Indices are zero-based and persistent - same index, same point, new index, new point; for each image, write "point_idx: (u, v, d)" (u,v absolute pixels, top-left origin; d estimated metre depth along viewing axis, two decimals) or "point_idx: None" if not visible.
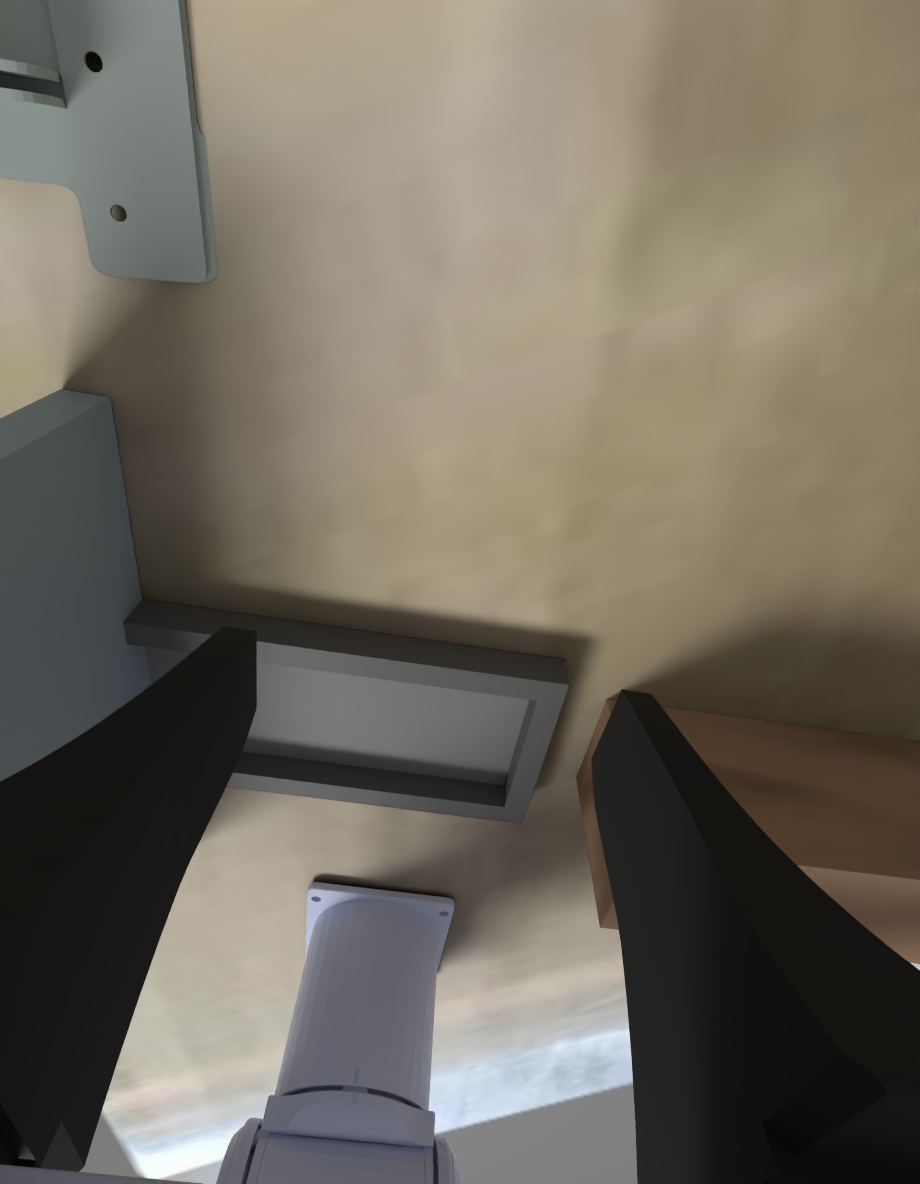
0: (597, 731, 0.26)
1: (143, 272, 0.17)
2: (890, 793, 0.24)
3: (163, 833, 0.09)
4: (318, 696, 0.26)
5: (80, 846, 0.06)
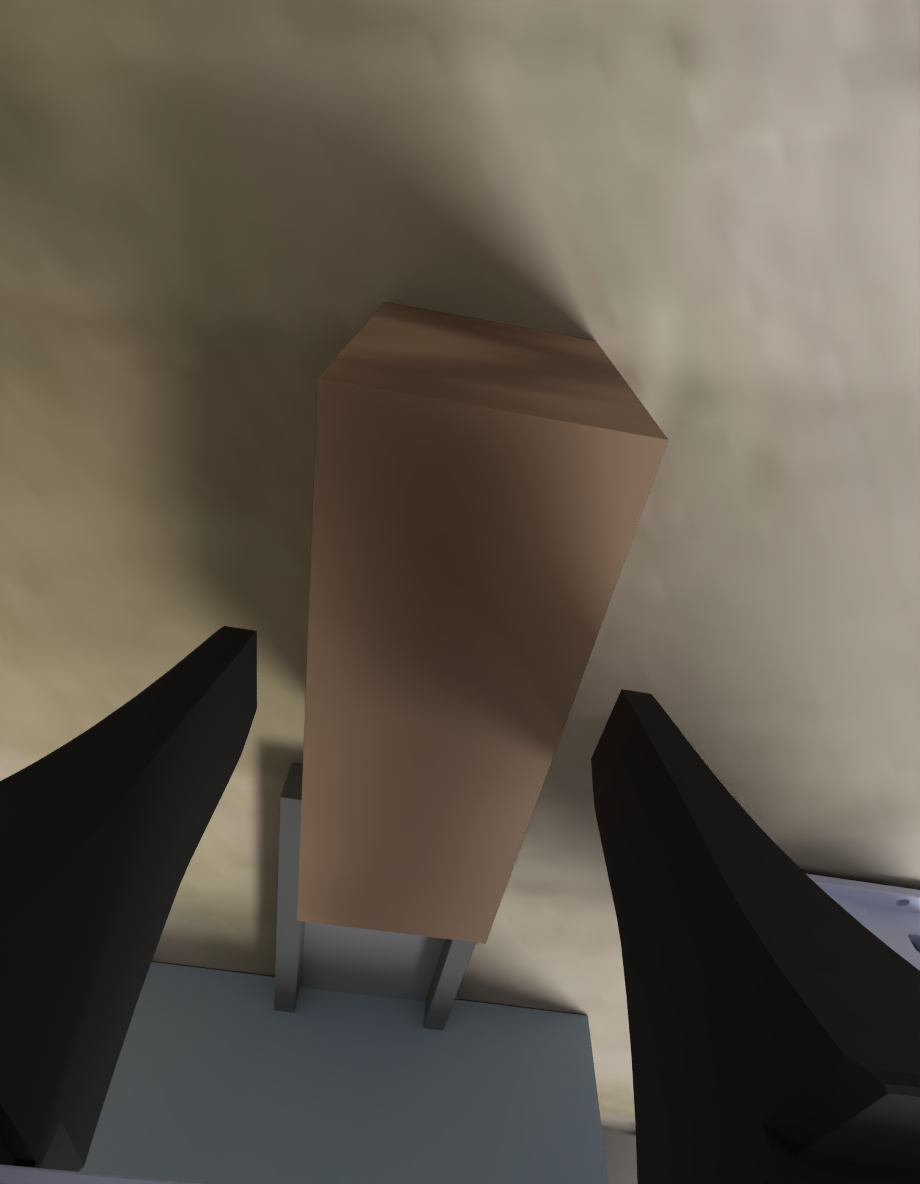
0: None
1: None
2: None
3: (163, 833, 0.09)
4: None
5: (80, 846, 0.06)
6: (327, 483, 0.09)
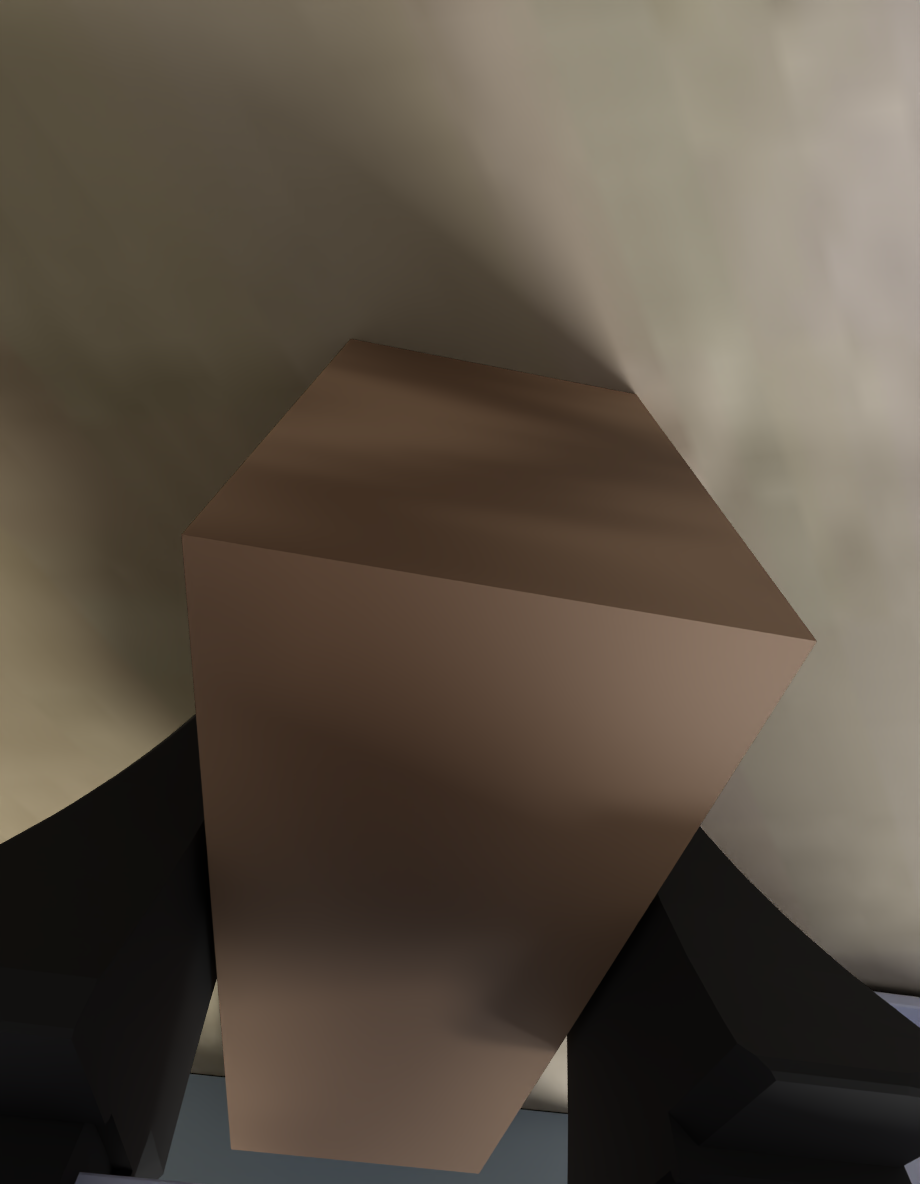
0: None
1: None
2: None
3: None
4: None
5: (177, 859, 0.07)
6: (217, 691, 0.05)
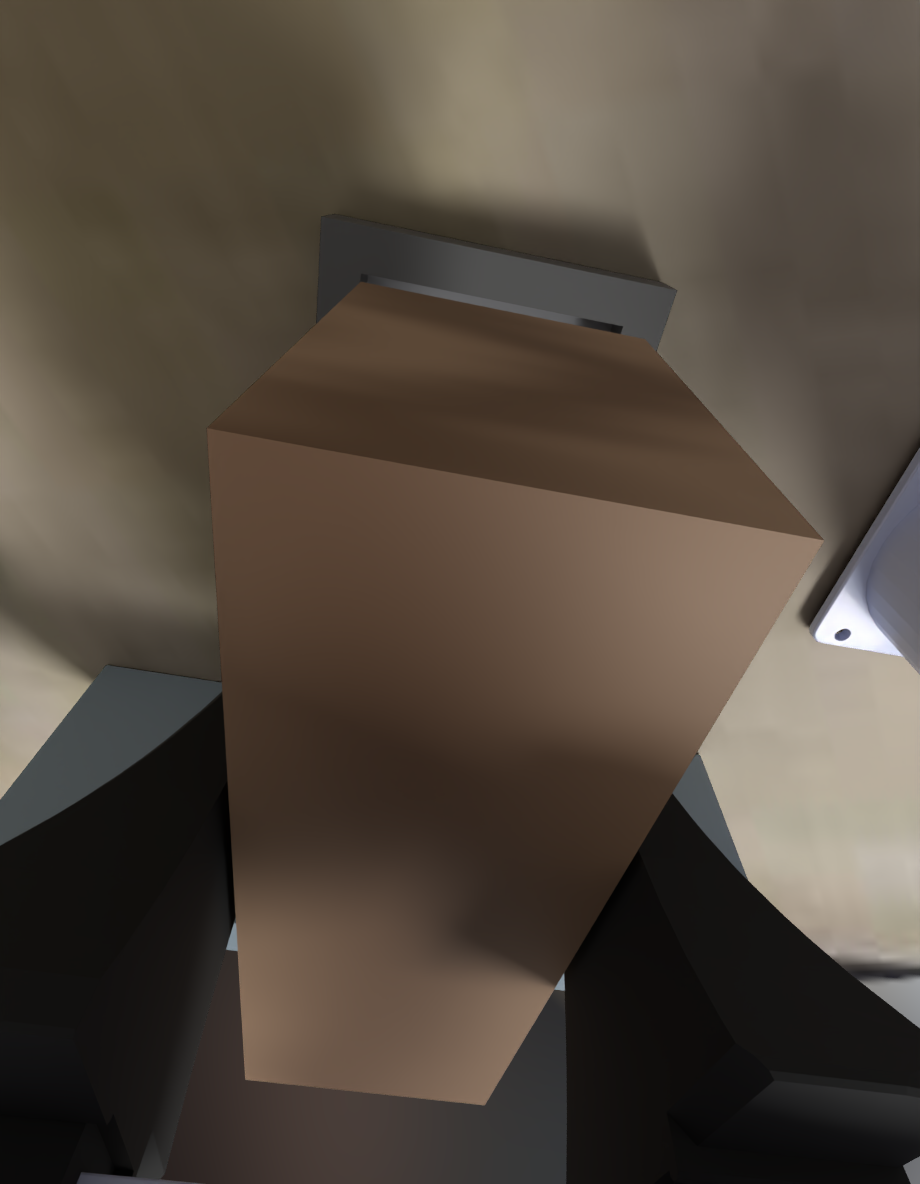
0: None
1: None
2: None
3: None
4: None
5: (179, 859, 0.07)
6: (239, 595, 0.06)
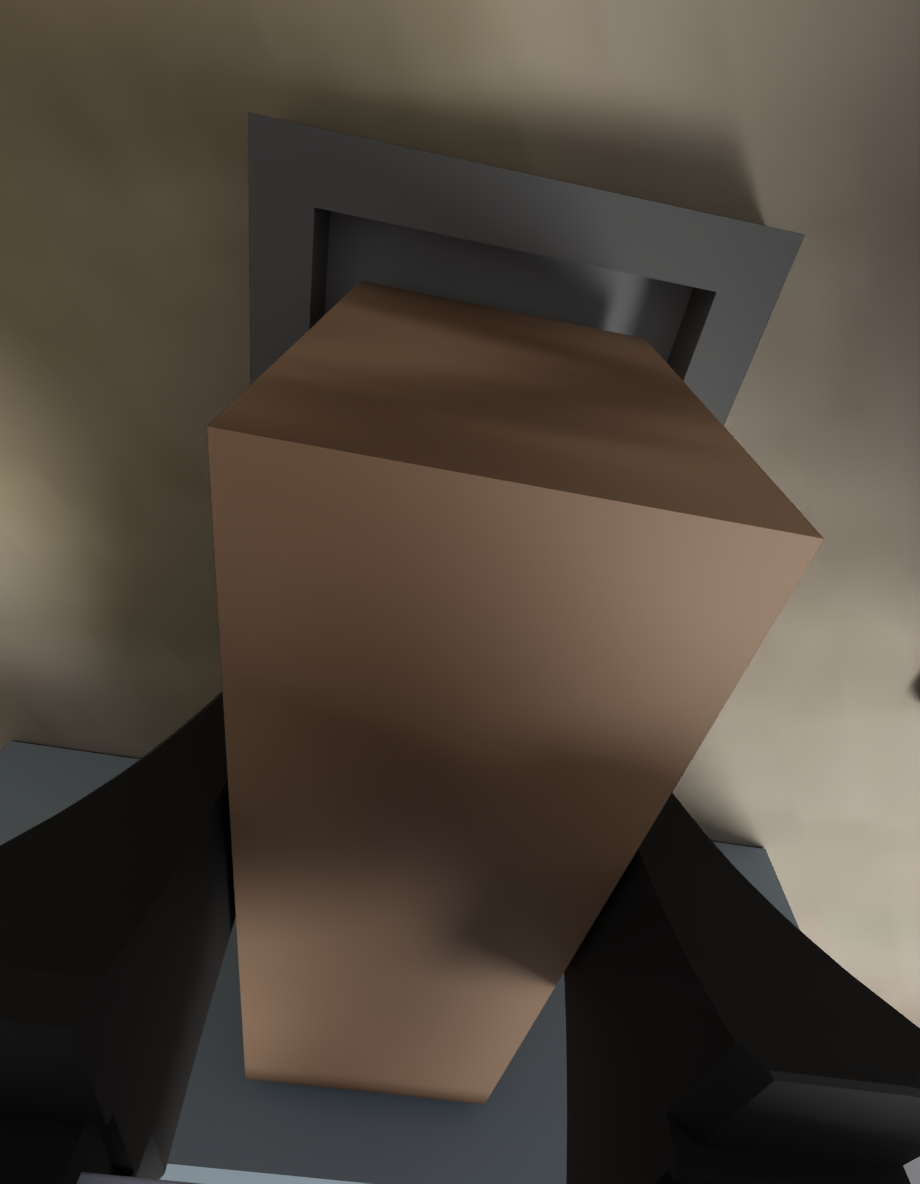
0: None
1: None
2: None
3: None
4: None
5: (179, 859, 0.07)
6: (239, 593, 0.06)
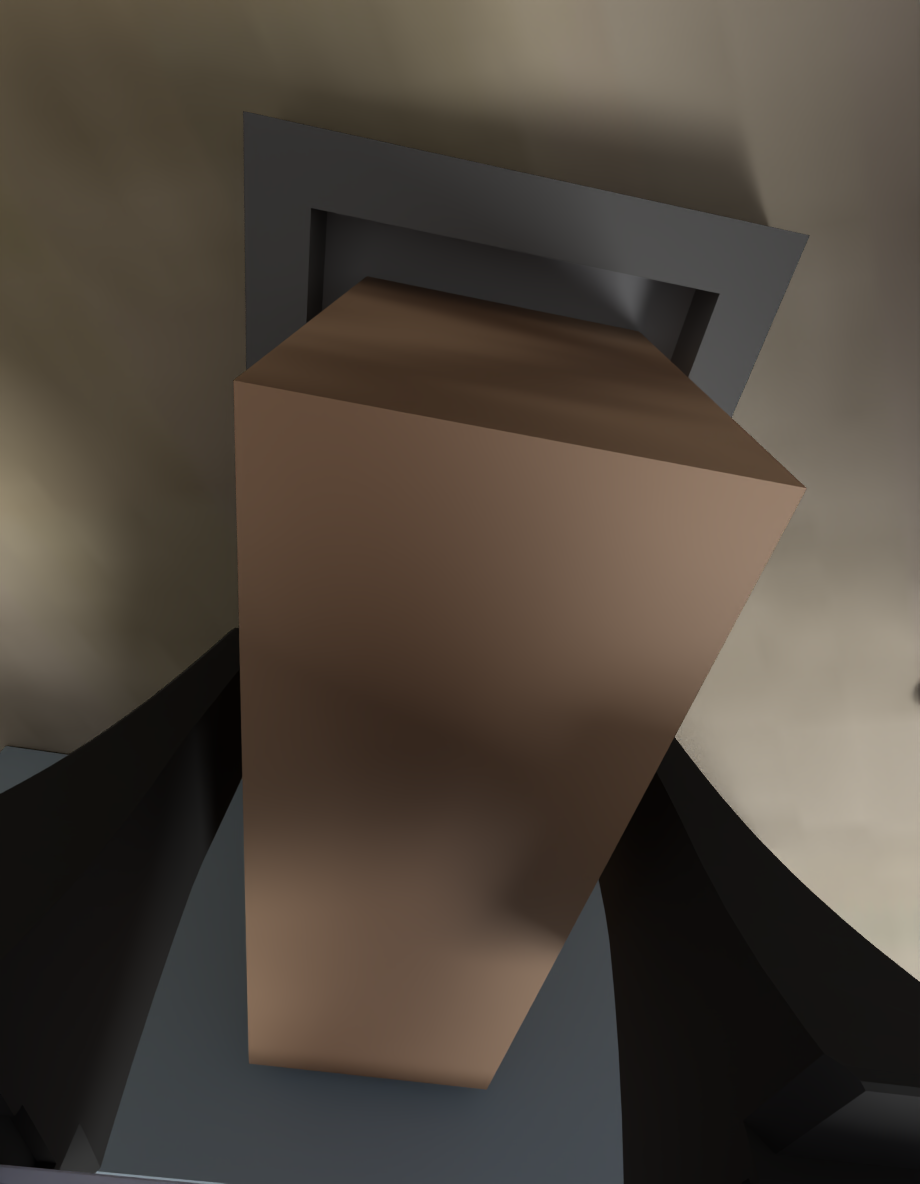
0: None
1: None
2: None
3: (177, 835, 0.09)
4: None
5: (100, 849, 0.06)
6: (259, 546, 0.06)
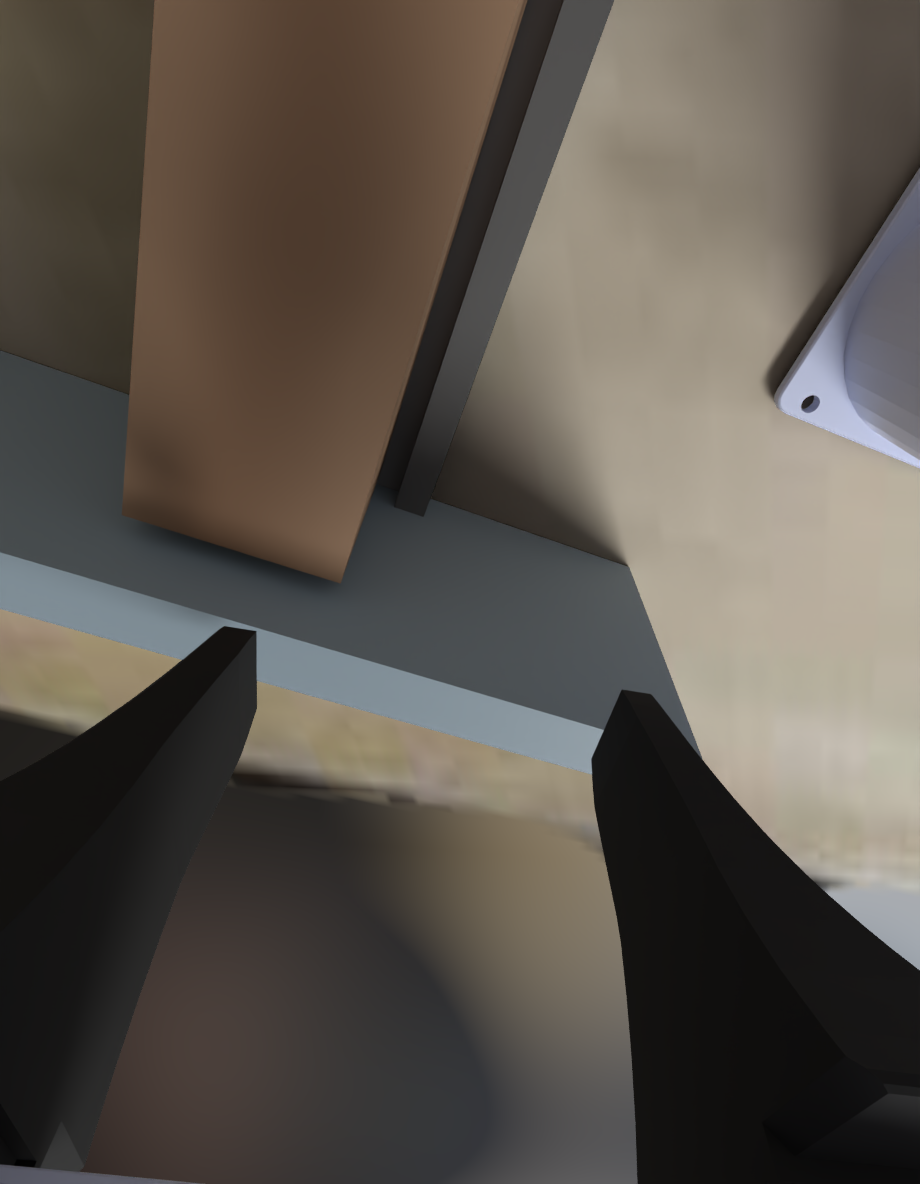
0: None
1: None
2: None
3: (163, 833, 0.09)
4: None
5: (80, 846, 0.06)
6: None
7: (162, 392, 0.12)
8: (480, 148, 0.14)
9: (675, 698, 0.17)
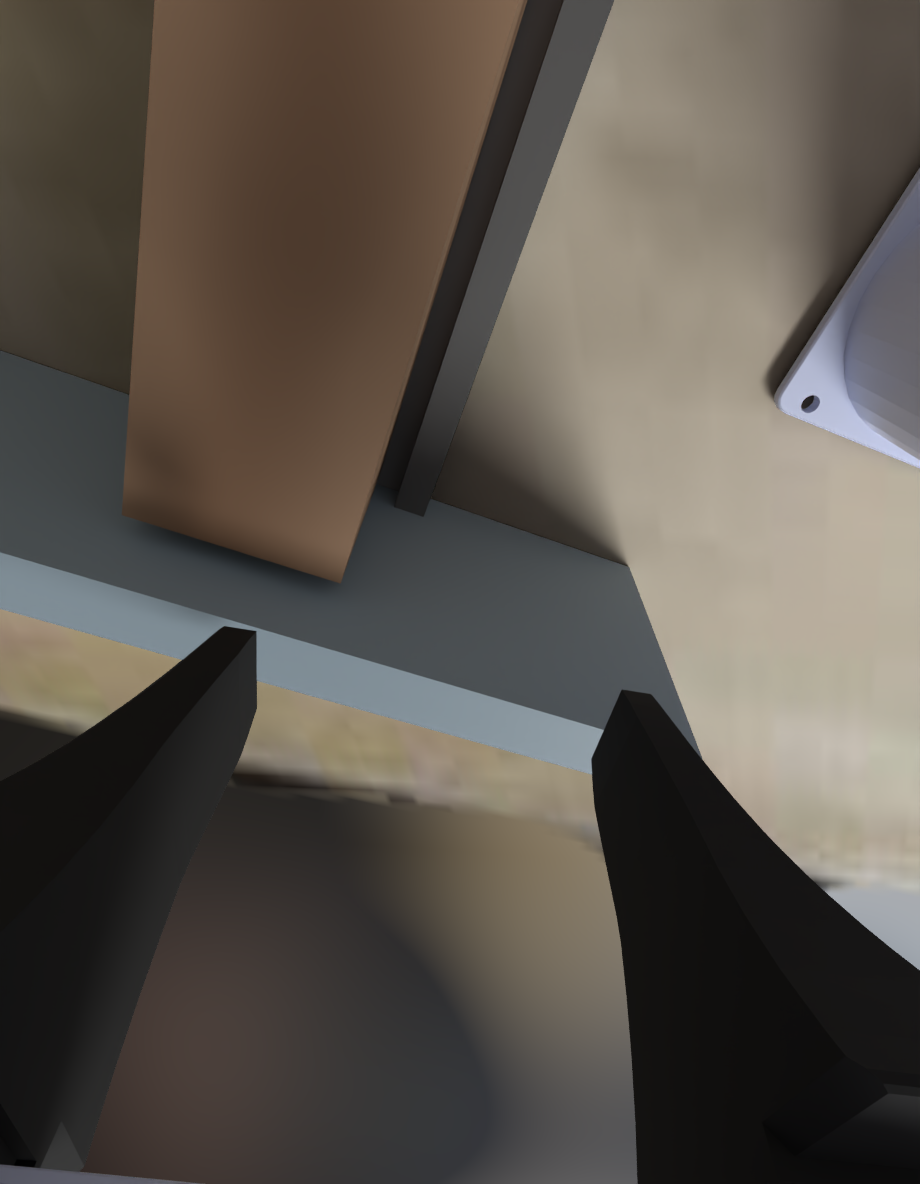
0: None
1: None
2: None
3: (163, 833, 0.09)
4: None
5: (80, 846, 0.06)
6: None
7: (162, 392, 0.12)
8: (480, 148, 0.14)
9: (675, 698, 0.17)
